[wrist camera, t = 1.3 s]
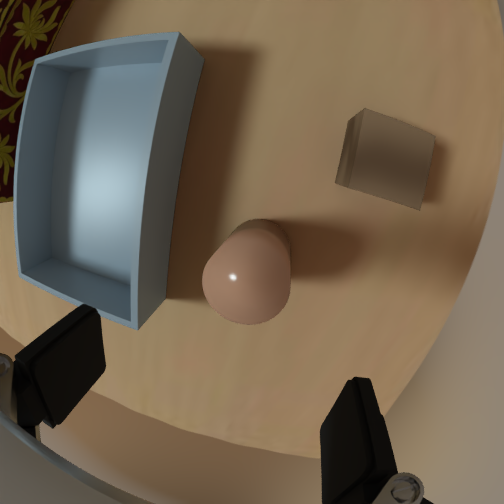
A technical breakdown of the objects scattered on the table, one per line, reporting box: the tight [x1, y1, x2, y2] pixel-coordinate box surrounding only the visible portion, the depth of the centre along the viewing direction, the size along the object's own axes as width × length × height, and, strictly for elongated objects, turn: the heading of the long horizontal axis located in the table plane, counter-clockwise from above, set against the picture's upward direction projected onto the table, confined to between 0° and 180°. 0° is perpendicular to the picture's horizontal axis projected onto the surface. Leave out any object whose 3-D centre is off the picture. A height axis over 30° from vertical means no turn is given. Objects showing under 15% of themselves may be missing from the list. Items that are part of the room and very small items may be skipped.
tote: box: [14, 32, 205, 330], centre depth 19 cm, size 21×15×6 cm
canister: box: [202, 219, 291, 325], centre depth 19 cm, size 5×5×7 cm
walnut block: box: [335, 108, 435, 211], centre depth 17 cm, size 5×5×5 cm
